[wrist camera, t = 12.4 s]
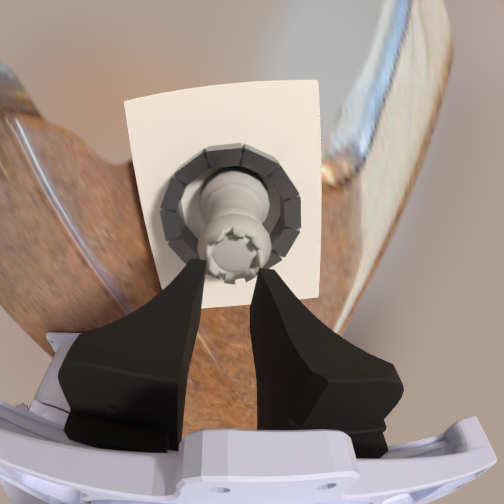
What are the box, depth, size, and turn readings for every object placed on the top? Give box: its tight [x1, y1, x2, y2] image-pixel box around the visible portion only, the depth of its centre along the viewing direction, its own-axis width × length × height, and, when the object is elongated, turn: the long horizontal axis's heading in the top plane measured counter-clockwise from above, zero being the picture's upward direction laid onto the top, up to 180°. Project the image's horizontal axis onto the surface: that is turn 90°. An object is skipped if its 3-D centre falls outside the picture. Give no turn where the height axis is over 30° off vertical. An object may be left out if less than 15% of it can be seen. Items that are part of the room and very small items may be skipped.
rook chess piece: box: [197, 166, 272, 285], centre depth 16 cm, size 4×4×8 cm
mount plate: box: [124, 80, 321, 308], centre depth 21 cm, size 16×12×1 cm
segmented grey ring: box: [160, 143, 301, 280], centre depth 19 cm, size 8×8×2 cm
